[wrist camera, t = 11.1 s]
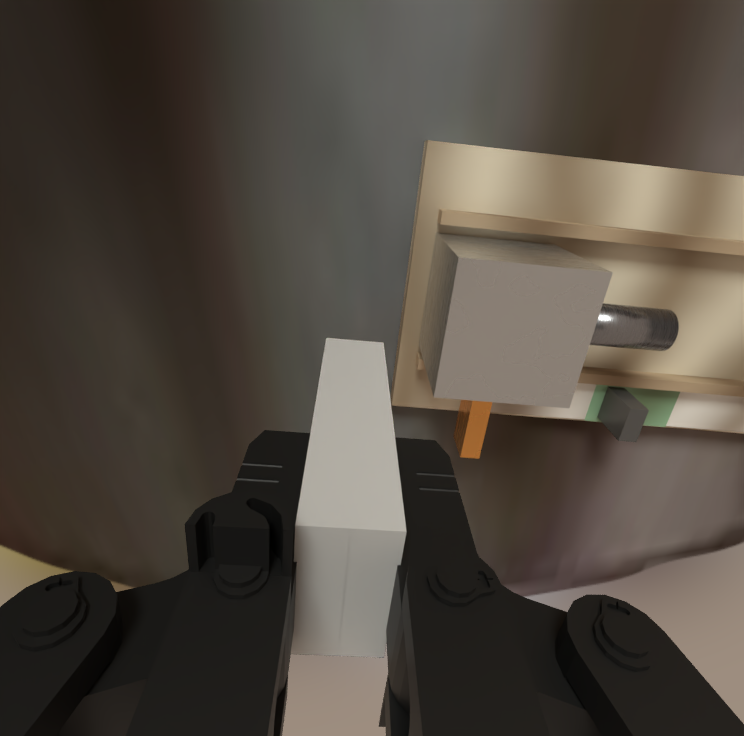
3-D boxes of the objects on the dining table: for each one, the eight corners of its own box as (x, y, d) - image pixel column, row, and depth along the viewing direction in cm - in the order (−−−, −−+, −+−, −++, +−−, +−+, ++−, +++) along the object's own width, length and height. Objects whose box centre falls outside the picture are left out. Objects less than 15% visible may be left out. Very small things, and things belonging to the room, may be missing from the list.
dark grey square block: (597, 416, 27) (618, 440, 25) (607, 386, 27) (630, 408, 24) (613, 418, 27) (636, 442, 25) (624, 388, 27) (649, 410, 24)
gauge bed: (390, 395, 28) (398, 468, 22) (424, 140, 22) (450, 135, 16) (793, 428, 30) (914, 505, 23) (922, 197, 24) (1132, 214, 17)
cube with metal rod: (407, 418, 27) (418, 484, 22) (436, 232, 23) (458, 257, 17) (588, 432, 28) (642, 500, 23) (650, 254, 24) (736, 284, 18)
